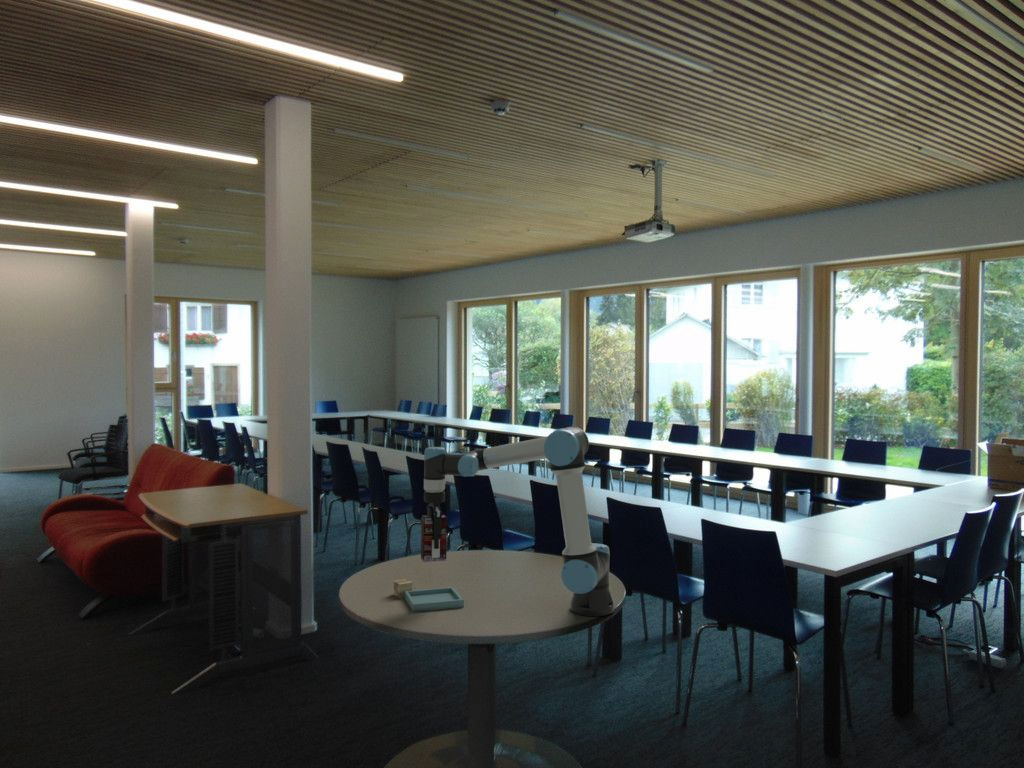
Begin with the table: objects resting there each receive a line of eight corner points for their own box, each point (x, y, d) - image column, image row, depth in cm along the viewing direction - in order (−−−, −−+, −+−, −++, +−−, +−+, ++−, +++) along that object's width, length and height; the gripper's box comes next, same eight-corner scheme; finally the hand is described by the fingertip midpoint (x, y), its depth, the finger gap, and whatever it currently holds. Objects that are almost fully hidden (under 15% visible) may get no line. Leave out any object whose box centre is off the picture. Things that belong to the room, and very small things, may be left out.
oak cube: (411, 595, 276) (411, 582, 275) (399, 598, 273) (399, 584, 273) (405, 592, 280) (405, 579, 280) (393, 594, 277) (393, 581, 277)
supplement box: (423, 562, 264) (423, 517, 264) (420, 559, 268) (420, 515, 268) (447, 561, 266) (447, 516, 266) (444, 557, 271) (444, 514, 271)
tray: (463, 606, 263) (463, 599, 263) (413, 611, 257) (413, 604, 257) (452, 593, 278) (452, 586, 278) (404, 598, 272) (404, 591, 272)
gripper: (450, 494, 260) (450, 560, 260) (439, 486, 276) (438, 548, 277) (429, 495, 257) (429, 562, 258) (419, 487, 274) (418, 550, 275)
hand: (434, 555), depth 267 cm, fingers closed on supplement box, 5 cm apart
